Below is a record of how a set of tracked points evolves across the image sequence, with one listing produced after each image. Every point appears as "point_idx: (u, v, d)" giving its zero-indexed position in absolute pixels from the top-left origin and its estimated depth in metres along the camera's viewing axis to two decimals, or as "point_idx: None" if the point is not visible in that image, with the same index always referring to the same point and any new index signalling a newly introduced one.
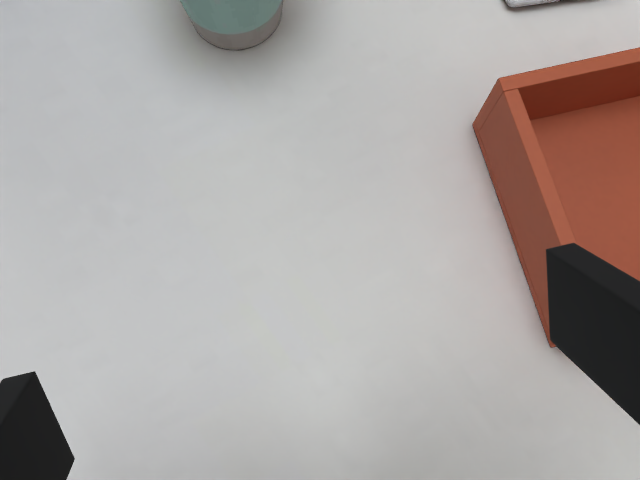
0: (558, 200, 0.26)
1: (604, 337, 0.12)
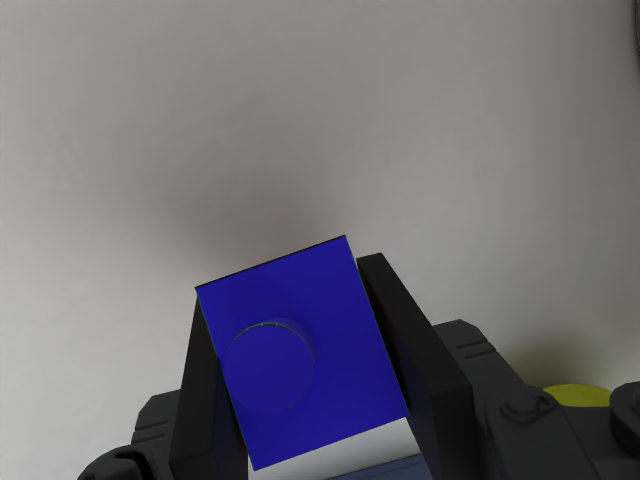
0: None
1: (382, 336, 0.14)
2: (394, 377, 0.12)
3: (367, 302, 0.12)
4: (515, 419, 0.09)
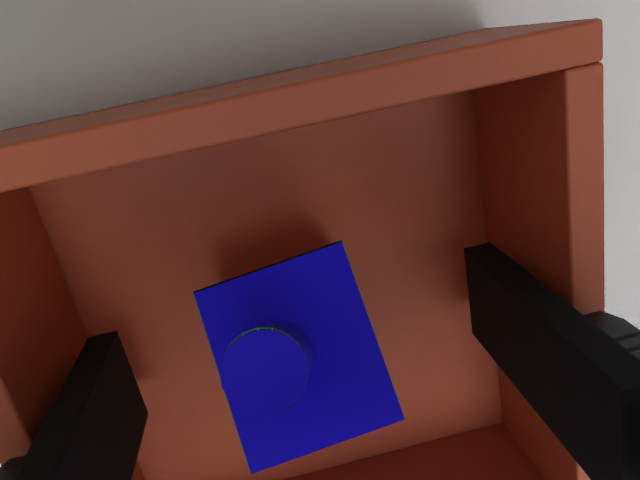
0: None
1: (506, 330, 0.13)
2: (389, 381, 0.12)
3: (363, 307, 0.12)
4: None
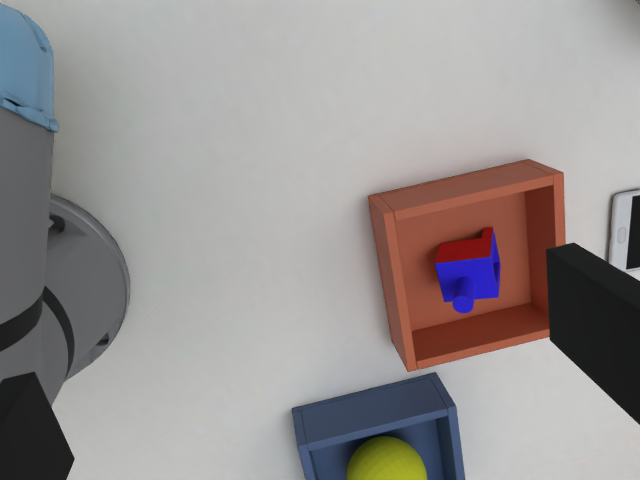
0: (472, 202, 0.39)
1: (604, 337, 0.12)
2: (478, 258, 0.40)
3: (455, 261, 0.41)
4: None
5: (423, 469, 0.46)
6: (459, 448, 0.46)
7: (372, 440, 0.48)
